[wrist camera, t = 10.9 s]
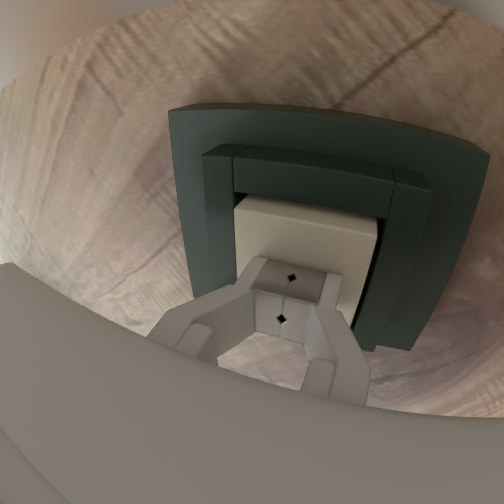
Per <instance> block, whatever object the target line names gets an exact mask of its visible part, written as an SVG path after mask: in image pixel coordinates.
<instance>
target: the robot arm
mask: <svg viewBox="0 0 504 504" xmlns="http://www.w3.org/2000/svg"><path fill="white" fill-rule="evenodd" d="M342 279H343V276H342V275H340V274H335V273H330V272H328V273H327V272H322V271H318V270H313V269H308V268H304V267H299V266H296V265H291V264H287V263H283V262H279V261H275V260H271V259H266V258H262V257H257V256H254V257H252V258H251V259H250V261H249V262H248V264H247V265H246V267H245V268H244V270H243V272H242V273H241V275H240V276H239V278H238V279H237V281H236V282H235V284H234V285H231V284H229V285H226V286H224V287H222V288H219V289H217V290H215V291H212V292H210V293H208V294H206V295H203V296H201V297H199V298H196V299H194V300H192V301H189V302H187V303H185V304H182V305H180V306H177V307H175V308H173V309H170V310H168V311H167V312H166V313H165V314H164V316H163V317H162V318H161V319H160V320H159V322H158V323H157V324H156V325H155V327H154V328H153V329H152V330H151V332H150V333H149V334H148V335H147V337H144V336H142V335H140V334H138V333H136V332H133V331H131V330H129V329H127V328H125V327H123V326H121V325H119V324H117V323H115V322H113V321H111V320H109V319H107V318H105V317H103V316H101V315H99V314H97V313H95V312H93V311H91V310H89V309H88V308H86V307H84V306H82V305H80V304H78V303H77V302H75V301H73V300H71V299H70V298H68V297H66V296H64V295H63V294H61V293H59V292H58V291H56V290H54V289H53V288H51V287H49V286H48V285H46V284H44V283H43V282H41V281H39V280H38V279H36V278H35V277H33V276H32V275H30V274H29V273H27V272H25V271H24V270H22V269H21V268H20V267H18V266H17V265H15V264H13V263H4V264H1V265H0V504H504V417H503V418H478V417H454V416H439V415H428V414H418V413H410V412H402V411H395V410H388V409H381V408H375V407H370V406H366V401H367V395H368V389H369V382H370V375H371V367H370V365H369V363H368V361H367V359H366V357H365V355H364V353H363V351H362V350H361V348H360V346H359V344H358V342H357V340H356V338H355V337H354V335H353V333H352V331H351V329H350V327H349V326H348V324H347V322H346V320H345V318H344V317H343V315H342V313H341V311H338V310H336V308H337V303H338V299H339V294H340V289H341V284H342ZM255 332H259V333H263V334H267V335H271V336H275V337H280V338H283V339H286V340H290V341H293V342H297V343H300V344H304V347H305V350H306V353H307V356H308V360H309V363H310V364H309V367H308V370H307V373H306V376H305V379H304V382H303V384H302V387H301V390H300V391H296V390H292V389H289V388H285V387H281V386H278V385H274V384H271V383H267V382H264V381H261V380H258V379H254V378H251V377H248V376H245V375H242V374H239V373H236V372H233V371H230V370H227V369H224V368H221V367H219V366H218V361H217V357H219V356H220V355H222V354H223V353H225V352H226V351H228V350H229V349H231V348H232V347H234V346H236V345H237V344H239V343H240V342H242V341H243V340H245V339H246V338H248V337H249V336H250V335H252V334H253V333H255Z"/></svg>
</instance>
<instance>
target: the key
mask: <svg viewBox="0 0 504 504" xmlns="http://www.w3.org/2000/svg"><path fill="white" fill-rule="evenodd" d="M234 223H235V245H236V265H237V279H238V278H239V276H240V275H241V273H242V272H243V270H244V268H245V267H246V265H247V264H248V262H249V261H250V259H251V258H252V257H254V256H257V257H262V258H266V259H271V260H275V261H279V262H283V263H287V264H291V265H296V266H299V267H304V268H308V269H313V270H318V271H322V272H327V273H328V272H330V273H335V274H340V275H342V276H343V279H342V284H341V289H340V294H339V299H338V303H337V308H336V310H338V311H341V313H342V315H343V317H344V318H345V320H346V322H347V324H348V326H349V327H350V326H351V323H352V320H353V317H354V314H355V311H356V308H357V305H358V302H359V299H360V296H361V293H362V290H363V286H364V283H365V280H366V276H367V273H368V270H369V266H370V262H371V259H372V255H373V251H374V248H375V244H376V240H377V217H376V216H371V215H367V214H362V213H357V212H352V211H347V210H342V209H337V208H332V207H326V206H321V205H315V204H310V203H304V202H298V201H292V200H286V199H280V198H274V197H268V196H261V195H255V194H248V195H247V196H246V197H245V198H244V199H243V200H242V201H241V202H240V203H239V204H238V205H237V206H236V207H235V209H234Z"/></svg>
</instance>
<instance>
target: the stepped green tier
mask: <svg viewBox="0 0 504 504" xmlns="http://www.w3.org/2000/svg"><path fill="white" fill-rule="evenodd" d="M168 116H169V128H170V138H171V148H172V158H173V167H174V175H175V183H176V191H177V198H178V206H179V213H180V220H181V226H182V233H183V239H184V245H185V251H186V257H187V263H188V269H189V274H190V280H191V285H192V291H193V296H194V298H199V297H201V296H203V295H206V294H208V293H210V292H212V291H215V290H217V289H219V288H222V287H224V286H226V285H229V284H231V285H234V284H235V282H236V281H237V265H236V245H235V223H234V209H235V207H236V206H237V205H238V204H239V203H240V202H241V201H242V200H243V199H244V198H245V197H246V196H247V195H248V194H255V195H261V196H268V197H274V198H280V199H286V200H292V201H298V202H304V203H310V204H315V205H321V206H326V207H332V208H337V209H342V210H347V211H352V212H357V213H362V214H367V215H371V216H376V217H377V240H376V244H375V248H374V251H373V255H372V259H371V262H370V266H369V270H368V273H367V276H366V280H365V283H364V286H363V290H362V293H361V296H360V299H359V302H358V305H357V308H356V311H355V314H354V317H353V320H352V323H351V326H350V329H351V331H352V333H353V335H354V337H355V338H356V340H357V342H358V344H359V346H360V348H361V350H365V351H370V352H373V351H374V349H375V347H376V345H381V346H386V347H391V348H396V349H402V350H407V351H410V350H411V348H412V347H413V345H414V343H415V342H416V340H417V338H418V337H419V335H420V333H421V332H422V330H423V328H424V326H425V324H426V323H427V321H428V319H429V317H430V315H431V314H432V312H433V310H434V308H435V306H436V304H437V302H438V300H439V298H440V296H441V294H442V292H443V290H444V288H445V286H446V284H447V282H448V279H449V277H450V275H451V273H452V271H453V268H454V266H455V264H456V261H457V259H458V257H459V254H460V252H461V249H462V247H463V244H464V241H465V239H466V236H467V233H468V231H469V228H470V225H471V222H472V219H473V216H474V213H475V210H476V207H477V204H478V201H479V197H480V194H481V190H482V187H483V183H484V179H485V175H486V171H487V167H488V163H489V158H490V155H489V154H488V153H486V152H485V151H484V150H482V149H481V148H480V147H478V146H477V145H475V144H474V143H472V142H469V141H466V140H463V139H460V138H457V137H454V136H451V135H447V134H444V133H441V132H437V131H434V130H430V129H426V128H423V127H419V126H415V125H411V124H407V123H402V122H398V121H393V120H389V119H384V118H379V117H373V116H368V115H362V114H356V113H350V112H343V111H336V110H329V109H320V108H311V107H301V106H289V105H274V104H248V103H211V104H191V105H187V106H183V107H179V108H175V109H172V110H169V111H168Z"/></svg>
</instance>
